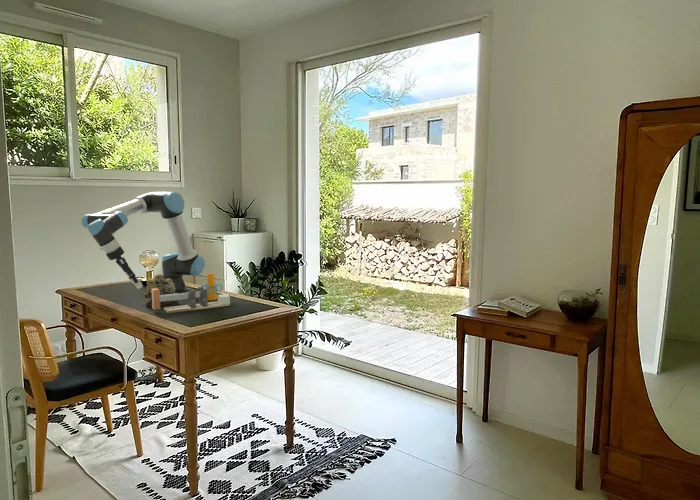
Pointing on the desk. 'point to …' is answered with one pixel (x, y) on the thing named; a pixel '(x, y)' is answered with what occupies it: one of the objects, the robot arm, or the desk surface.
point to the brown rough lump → (163, 286)
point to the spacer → (223, 299)
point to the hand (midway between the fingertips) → (137, 284)
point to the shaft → (169, 297)
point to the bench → (186, 308)
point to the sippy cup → (211, 287)
